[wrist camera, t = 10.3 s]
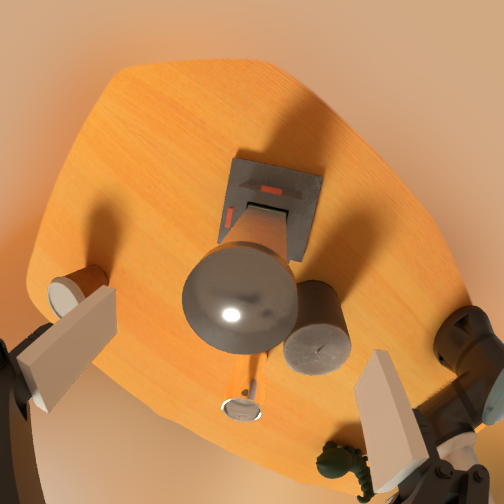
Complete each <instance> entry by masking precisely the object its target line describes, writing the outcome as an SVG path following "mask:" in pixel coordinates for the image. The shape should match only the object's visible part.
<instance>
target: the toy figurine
mask: <svg viewBox="0 0 504 504" xmlns="http://www.w3.org/2000/svg"><path fill="white" fill-rule="evenodd" d="M354 452H355V453H354ZM361 453H362V452H361V450H356V451H355V449H354V448H353V447H348V448H347V449H346V450H345V449H343V448H339V447H337V444H336V443H335V442H330V443H328V444H326V445H325V446H324V447H323V453H322V454H321V455H320V456H319V457H317V462H316V464H317V469H318V471H319V473H320V474H321V475H322V476H324V477H326V478H331V479H334V478H339V477H342V476H343V475H345V474H346V473H347V472H349V471H350V472H353V473H355V475H356V477H357V478H358V479H359V480H358V481H359V484H360V485H362V486H361V490H362V491H363V492H364V493H363V495H364V497H361V496H359V495H358V496H357V499H358V501H359V502H360V503H367V502H369V501H370V499H371V498H372V497H373V496H374V495H375V494H377V493H374V491H373V484H372V478H371V474H370V473H371V472H370V467H368V466H367V464H366V461H367V460H368V457H367V456H363V457H362V456H361Z"/></svg>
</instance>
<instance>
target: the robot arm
mask: <svg viewBox="0 0 504 504" xmlns="http://www.w3.org/2000/svg"><path fill="white" fill-rule="evenodd" d="M116 333H117V321H116V295H115V289H114V288H111V287H108V286H105V285H103V286H101V287H100V288H99V289H97V290H96V291H95V292H94V293H92V294H91V295H90V296H88V297H87V298H86V299H85V300H83V301H82V302H81V303H80V304H78V305H77V306H76V307H75V308H73V309H72V310H71V311H70V312H68V313H67V314H66V315H65V316H64V317H62V318H61V319H60V320H59V321H58V322H56V323H55V324H52V323H47V324H45V325H43V326H40V327H39V328H38V329H37V330H36V331H34V332H33V334H31V335H29V336H28V338H26V339H25V340H23V341H22V342H21V343H20V344H19V345H18V346H16V347H15V348H14V349H13V350H12V351H11V352H10V353H8V351H7V348H6V345H5V343H4V341H3V340H2V339H0V504H46V503H45V500H44V496H43V492H42V488H41V483H40V479H39V474H38V469H37V464H36V458H35V452H34V445H33V437H32V429H31V418H30V405H29V402H28V400H29V399H30V398H31V397H32V398H33V400H34V402H35V404H36V406H38V407H39V408H41V409H42V410H44V411H45V412H47V413H50V411H51V410H52V409H53V408H54V407H55V405H56V404H57V403H58V401H59V400H60V399H61V398H62V397H63V395H64V394H65V393H66V392H67V391H68V389H69V388H70V387H71V386H72V384H73V383H74V382H75V381H76V380H77V379H78V377H79V376H80V375H81V374H82V372H83V371H84V370H85V369H86V368H87V367H88V365H89V364H90V363H91V362H92V361H93V360H94V359H95V357H96V356H97V355H98V354H99V353H100V352H101V350H102V349H103V348H104V347H105V346H106V345H107V344H108V343H109V341H110V340H111V339H112V338H113V337H114V336H115V335H116ZM433 350H434V354H435V356H436V358H437V360H438V361H439V363H440V364H441V365H443V366H444V367H446V368H447V369H449V370H451V371H452V372H454V373H455V374H456V375H457V376H458V378H456V379H455V380H454V381H453V382H451V383H450V384H449V385H448V386H446V387H445V388H444V389H442V390H441V391H440V392H438V393H437V394H436V395H434V396H433V397H432V398H430V399H429V400H428V401H426V402H425V403H423V404H422V405H419V406H417V407H416V408H415V409H412V408H411V405H410V403H409V400H408V398H407V395H406V393H405V390H404V388H403V386H402V383H401V381H400V378H399V376H398V374H397V371H396V369H395V367H394V364H393V362H392V360H391V358H390V355H389V353H388V351H383V350H376V349H375V350H374V352H373V354H372V356H371V357H370V359H369V361H368V363H367V365H366V367H365V369H364V371H363V373H362V374H361V376H360V378H359V380H358V382H357V383H356V385H355V387H354V392H355V396H356V401H357V405H358V410H359V415H360V419H361V424H362V429H363V434H364V439H365V444H366V449H367V455H368V460H369V466H370V472H371V478H372V484H373V491H374V493H380V492H390V491H391V490H392V489H394V488H395V487H396V486H397V485H398V488H399V491H398V492H397V493H396V494H394V495H393V496H392V497H390V498H389V499H388V500H387V501H386V503H388V502H389V501H391V502H390V503H389V504H495V503H494V500H493V498H492V495H491V492H490V489H489V481H490V480H489V478H490V477H489V473H488V471H487V469H486V468H485V467H484V466H483V465H480V463H479V461H478V458H477V456H476V454H475V451H474V449H473V445H474V443H475V440H476V438H477V435H476V433H475V431H474V429H475V428H476V427H478V426H479V425H480V424H481V423H484V424H486V425H493V424H494V423H495V422H497V421H500V419H502V418H503V417H504V344H503V343H502V342H501V340H500V339H499V338H497V336H496V335H495V334H494V331H493V329H492V326H491V324H490V321H489V318H488V316H487V315H486V313H485V312H484V311H483V310H482V309H480V308H479V307H477V306H466V307H463V308H461V309H459V310H458V311H456V312H455V313H453V314H452V315H451V316H450V317H449V318H448V319H447V320H446V321H445V322H444V323H443V325H442V326H441V328H440V329H439V331H438V333H437V335H436V337H435V341H434V346H433Z"/></svg>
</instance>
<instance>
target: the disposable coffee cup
mask: <svg viewBox="0 0 504 504" xmlns="http://www.w3.org/2000/svg"><path fill="white" fill-rule="evenodd" d="M103 285H105V286H108V278H107V276H106V274H105V272H104V271H103V270H102V269H101V268H100V267H98V266H96V265H90V266H88V267H86V268H83V269H81V270H78V271H76V272H73V273H71V274H68V275H66V276H63V277H56V278H54V279H53V280H52V281H51V283H50V285H49V287H48V290H47V298H48V302H49V305H50V307H51V309H52V311H53V312H54V314H55V315H56V316H57V317H58V318H59V319H61V318H62V317H64V316H65V315H66V314H67V313H68V312H70V311H71V310H72V309H73V308H75V307H76V306H77V305H78V304H80V303H81V302H82V301H83V300H85V299H86V298H87V297H88V296H90V295H91V294H92V293H94V292H95V291H96V290H97V289H99V288H100V287H101V286H103Z"/></svg>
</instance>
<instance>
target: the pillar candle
mask: <svg viewBox="0 0 504 504" xmlns="http://www.w3.org/2000/svg"><path fill="white" fill-rule="evenodd" d="M297 297H298V316H297V320H296V323H295V325H294V327H293V329H292V331H291V332H290V334H289V335H288V336H287V337H286V339H284V345H283V354H284V358H285V361H286V362H287V365H288V367H290V368H291V369H292V370H293V371H296V372H299V373H302V374H304V375H310V376H313V375H323V374H327V373H330V372H332V371H336V370H338V369H339V368H340V366H341V365H342V364H343V363H344V362H345V361H346V360H347V358H348V357H349V355H350V351H351V341H350V337H349V334H348V330H347V326H346V322H345V319H344V316H343V312H342V309H341V306H340V303H339V299H338V296H337V294H336V293H335V291H334V289H332V287H331V286H329V285H328V284H326V283H324V282H321V281H316V280H308V281H305V282H303V283H299V284H298V285H297Z"/></svg>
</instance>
